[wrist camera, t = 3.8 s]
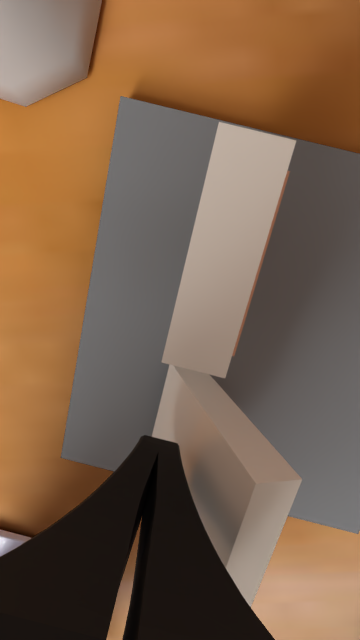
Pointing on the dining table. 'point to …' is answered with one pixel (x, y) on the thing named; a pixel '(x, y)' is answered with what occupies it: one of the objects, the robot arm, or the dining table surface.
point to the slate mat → (262, 317)
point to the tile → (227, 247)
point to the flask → (44, 46)
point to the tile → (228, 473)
